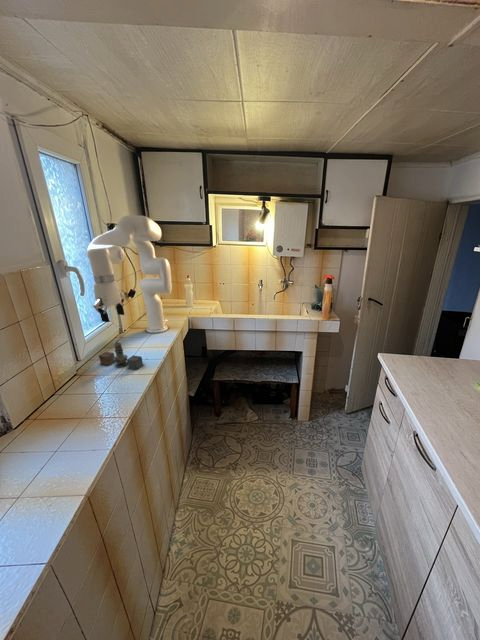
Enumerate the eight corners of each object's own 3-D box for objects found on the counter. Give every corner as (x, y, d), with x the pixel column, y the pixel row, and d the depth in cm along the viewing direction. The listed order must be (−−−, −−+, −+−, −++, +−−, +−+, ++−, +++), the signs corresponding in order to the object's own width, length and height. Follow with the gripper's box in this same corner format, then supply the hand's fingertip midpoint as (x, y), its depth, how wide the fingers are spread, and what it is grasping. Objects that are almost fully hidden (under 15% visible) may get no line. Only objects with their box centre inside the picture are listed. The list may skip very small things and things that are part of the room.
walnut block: (107, 360, 136) (105, 351, 134) (115, 361, 135) (113, 352, 133) (100, 364, 132) (98, 355, 130) (109, 365, 131) (106, 356, 129)
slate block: (134, 363, 133) (133, 355, 131) (143, 365, 132) (141, 356, 130) (128, 368, 129) (126, 359, 127) (137, 369, 128) (135, 360, 126)
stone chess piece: (123, 368, 129) (118, 344, 124) (112, 366, 130) (106, 343, 125) (131, 362, 134) (126, 339, 129) (120, 361, 135) (115, 338, 130)
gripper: (111, 274, 125) (119, 311, 132) (80, 282, 110) (91, 323, 117) (126, 275, 123) (133, 312, 131) (96, 284, 108) (106, 325, 116)
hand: (113, 317), depth 124 cm, fingers open, 9 cm apart
